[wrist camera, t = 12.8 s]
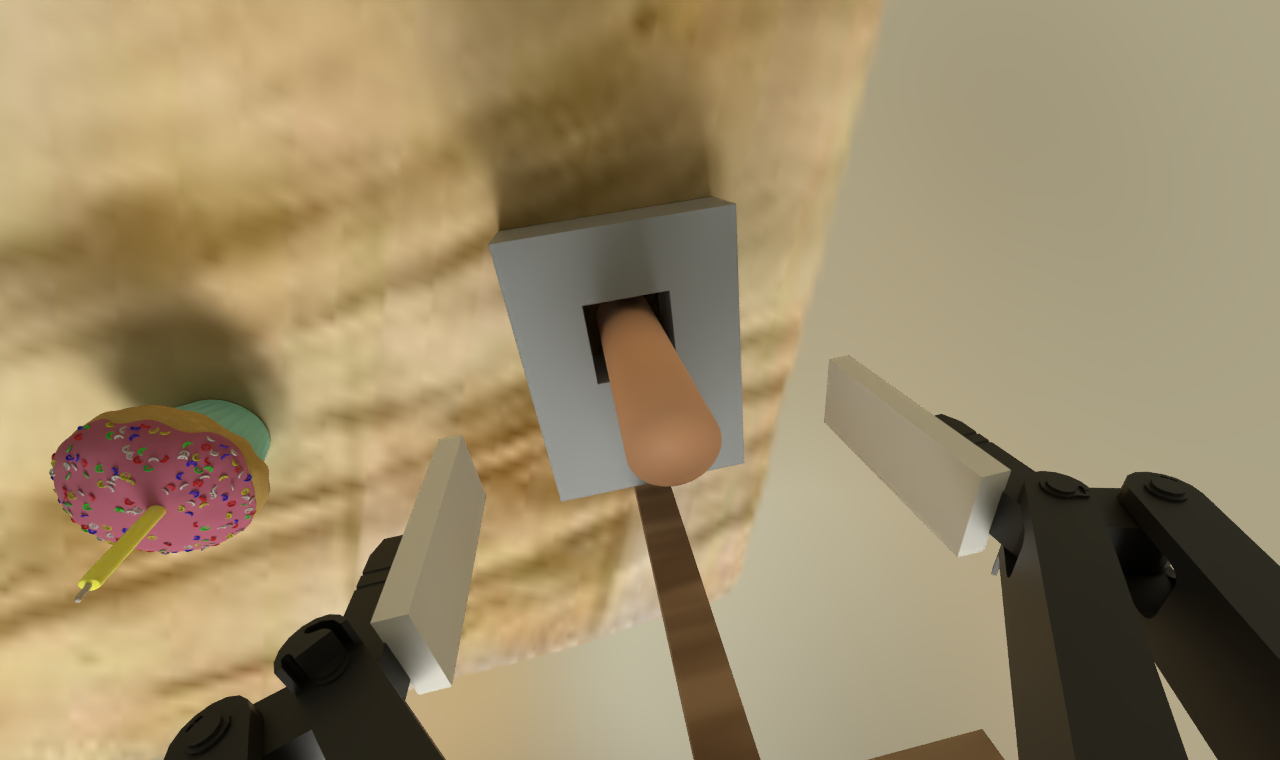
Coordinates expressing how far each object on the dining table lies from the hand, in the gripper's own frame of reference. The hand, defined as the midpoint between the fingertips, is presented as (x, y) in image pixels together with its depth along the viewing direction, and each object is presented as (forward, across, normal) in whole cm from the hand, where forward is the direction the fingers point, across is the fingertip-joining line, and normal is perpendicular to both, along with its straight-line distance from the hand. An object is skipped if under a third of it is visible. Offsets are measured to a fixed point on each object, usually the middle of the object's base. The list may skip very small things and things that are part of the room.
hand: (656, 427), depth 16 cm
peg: (+13, +1, -1) cm, 13 cm away
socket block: (+13, +1, -2) cm, 13 cm away
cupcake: (+14, -24, -4) cm, 28 cm away
